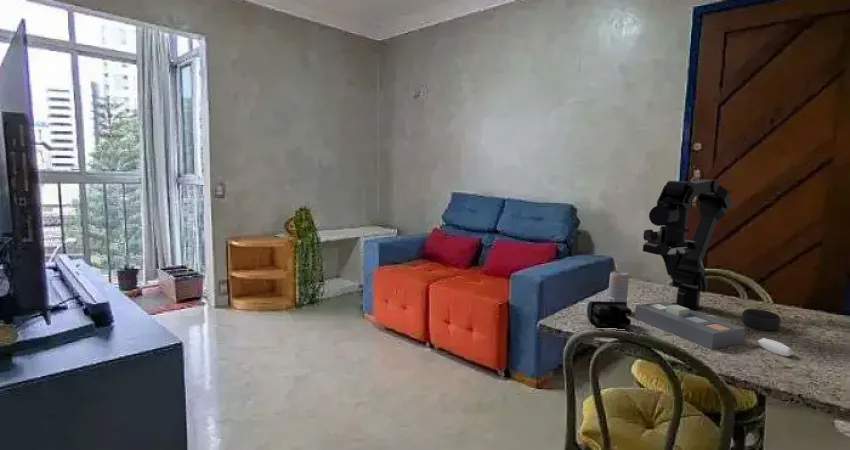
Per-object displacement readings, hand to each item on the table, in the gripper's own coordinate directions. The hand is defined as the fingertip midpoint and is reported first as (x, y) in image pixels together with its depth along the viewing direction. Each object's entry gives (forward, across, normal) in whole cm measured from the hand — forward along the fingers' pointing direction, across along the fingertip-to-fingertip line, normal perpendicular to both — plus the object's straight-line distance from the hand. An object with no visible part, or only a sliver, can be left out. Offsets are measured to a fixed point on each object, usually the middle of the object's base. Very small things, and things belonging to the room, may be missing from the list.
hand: (670, 275), depth 143 cm
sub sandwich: (+12, -1, +30) cm, 33 cm away
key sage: (+9, +7, +9) cm, 15 cm away
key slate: (+11, +7, +15) cm, 20 cm away
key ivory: (+11, +7, +3) cm, 13 cm away
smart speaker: (+12, -17, +17) cm, 27 cm away
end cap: (+12, +25, +2) cm, 28 cm away
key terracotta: (+11, +7, +21) cm, 25 cm away
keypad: (+12, +7, +12) cm, 18 cm away
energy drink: (+12, +13, -7) cm, 19 cm away
